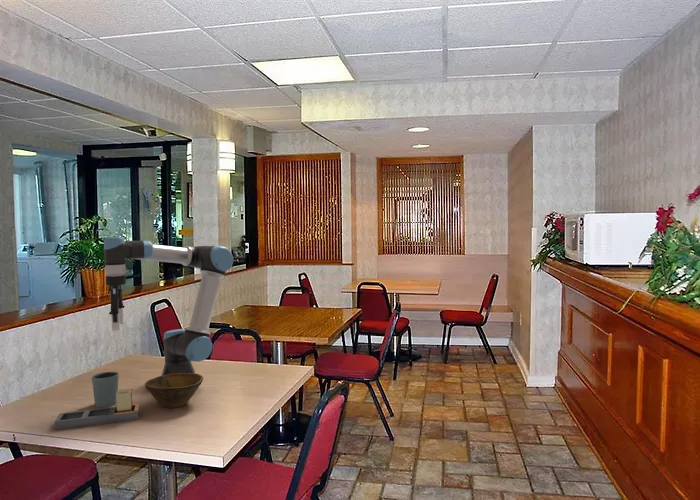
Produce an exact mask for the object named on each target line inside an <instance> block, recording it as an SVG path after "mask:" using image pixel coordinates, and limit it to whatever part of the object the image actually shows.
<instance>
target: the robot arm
mask: <svg viewBox="0 0 700 500" xmlns="http://www.w3.org/2000/svg"><path fill="white" fill-rule="evenodd" d="M103 253H104V266H105V267H103V270H105V271H104V272H105V275H106V276H105V277H104V278H105V285H106V286H109V287H110V286H111V288H110V292H109V293H110V311H109V312H108V314H109V315H111V331H114V332H115V331H120V329H121V327H120V325H124V311H123V310H124V309H125V305H124V302H123V288H122V286H124V285H126V283H127V277H126V275H125V274H126V273H127V271H126V261H127V260H140V261H141V260H143V261H150V262H151V261H152V262H162V263H172V264H173V263H174V264H181V265H182V266H184V267H189V268H190V267H191V268H194V269H198V270H199V272H200V274H201V280H200V284H199V288H198V291H197V295H196V299H195V302H194V303H195V304H194V307H193V311H192V314H191V319H190V322H189V326H187V327H186V328H180V329H179V328H178V329H171V330H168V331H165V332H164V333H163V348H164V351H163V352H164V354H163V355H164V364H163V365H164V366H163V369H162V372H161V376H163V375H167V374H173V373H196V372H195V369H194V366H193V363H192V362H197V363H199V362H203V361H205V360H206V359H207V358H208V357H210V355H211V353H212V352H213V351H212V350H213V343H212V340H211V339H210V338H211V332H210V329H209V328H210V325H211V324H210V323H211V320H212V316H213V312H214V309H215V308H214V307H215V305H216V304H215V303H216V300H217V295H218V292H219V289H220V288H219V287H220V283H221V280H222V279H224V278H225V276H226V272H227V271H229V270H230V269H231V268H232V267H233V265H234V256H233V254H232V252H231V250H230V249H229V248H228V247H226V246H222V245H198V246H197V245H196V246H189V245H185V246H184V247H180V246H172V245H162V244H155V243H154V244H153V243H152V241H150V240H144V239H143V240H125V238H124V237H123V236H110V237H109V236H108V237H105V238H104V240H103Z"/></svg>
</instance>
